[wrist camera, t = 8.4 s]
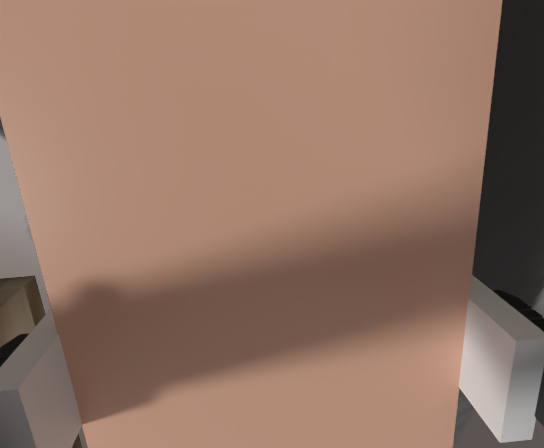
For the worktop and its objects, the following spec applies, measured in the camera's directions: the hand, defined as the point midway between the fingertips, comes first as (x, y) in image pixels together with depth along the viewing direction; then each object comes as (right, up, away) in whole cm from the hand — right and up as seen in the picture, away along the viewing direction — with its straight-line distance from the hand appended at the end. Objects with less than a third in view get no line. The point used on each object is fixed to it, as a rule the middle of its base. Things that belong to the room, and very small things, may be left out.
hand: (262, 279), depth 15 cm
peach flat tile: (0, -1, -2) cm, 2 cm away
